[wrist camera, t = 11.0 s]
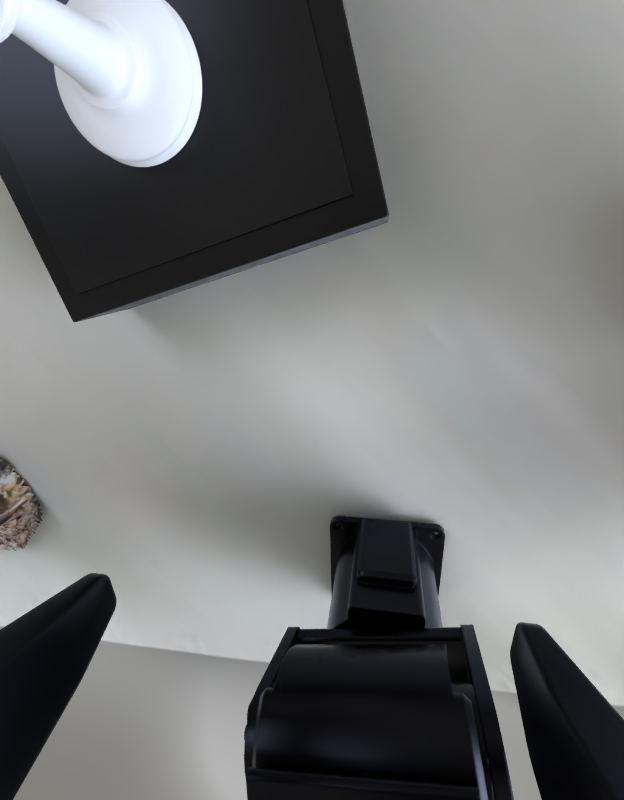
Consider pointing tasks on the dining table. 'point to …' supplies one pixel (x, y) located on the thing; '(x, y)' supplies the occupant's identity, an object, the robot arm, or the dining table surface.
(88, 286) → the stand
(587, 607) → the dining table surface
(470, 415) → the dining table surface
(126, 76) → the chess piece
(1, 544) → the grey mottled stone figure
